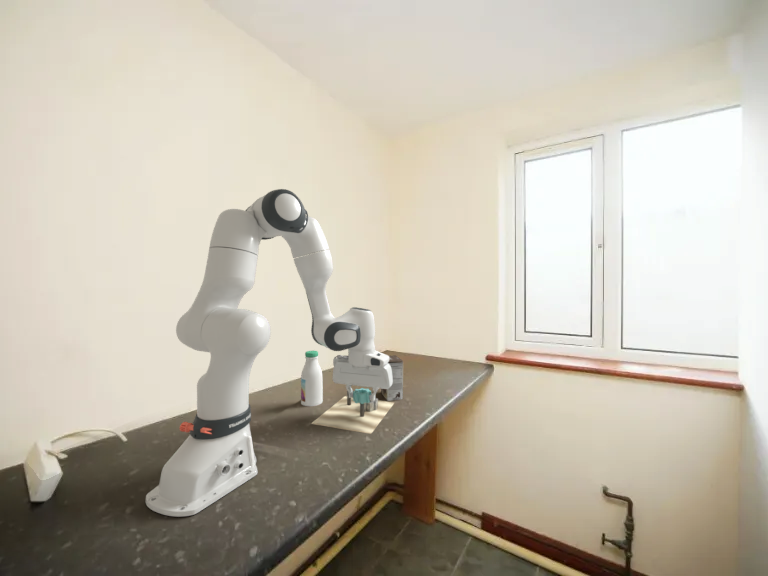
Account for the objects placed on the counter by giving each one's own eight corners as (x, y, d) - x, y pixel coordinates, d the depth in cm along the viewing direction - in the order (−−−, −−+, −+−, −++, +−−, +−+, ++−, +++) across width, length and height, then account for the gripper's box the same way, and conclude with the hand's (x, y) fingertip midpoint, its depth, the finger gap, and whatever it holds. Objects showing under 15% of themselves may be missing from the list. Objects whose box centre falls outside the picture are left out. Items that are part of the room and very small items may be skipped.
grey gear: (376, 412, 101) (376, 403, 101) (359, 410, 102) (359, 402, 102) (379, 405, 107) (379, 396, 107) (363, 404, 108) (363, 395, 108)
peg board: (371, 438, 86) (371, 416, 86) (310, 428, 93) (310, 407, 93) (394, 406, 109) (394, 388, 109) (345, 399, 116) (345, 383, 116)
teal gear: (367, 404, 95) (367, 395, 95) (350, 402, 97) (350, 393, 97) (373, 398, 100) (373, 389, 100) (357, 396, 102) (357, 387, 102)
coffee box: (380, 396, 119) (380, 355, 119) (395, 394, 121) (395, 354, 121) (387, 405, 111) (387, 361, 110) (403, 403, 112) (403, 360, 112)
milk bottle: (325, 402, 113) (325, 349, 113) (318, 410, 106) (318, 354, 105) (305, 401, 114) (305, 349, 114) (297, 409, 106) (297, 353, 106)
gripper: (328, 356, 98) (329, 398, 99) (388, 361, 92) (388, 406, 92) (337, 352, 104) (338, 391, 105) (394, 356, 98) (394, 398, 98)
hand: (362, 398), depth 98 cm, fingers closed on teal gear, 6 cm apart
